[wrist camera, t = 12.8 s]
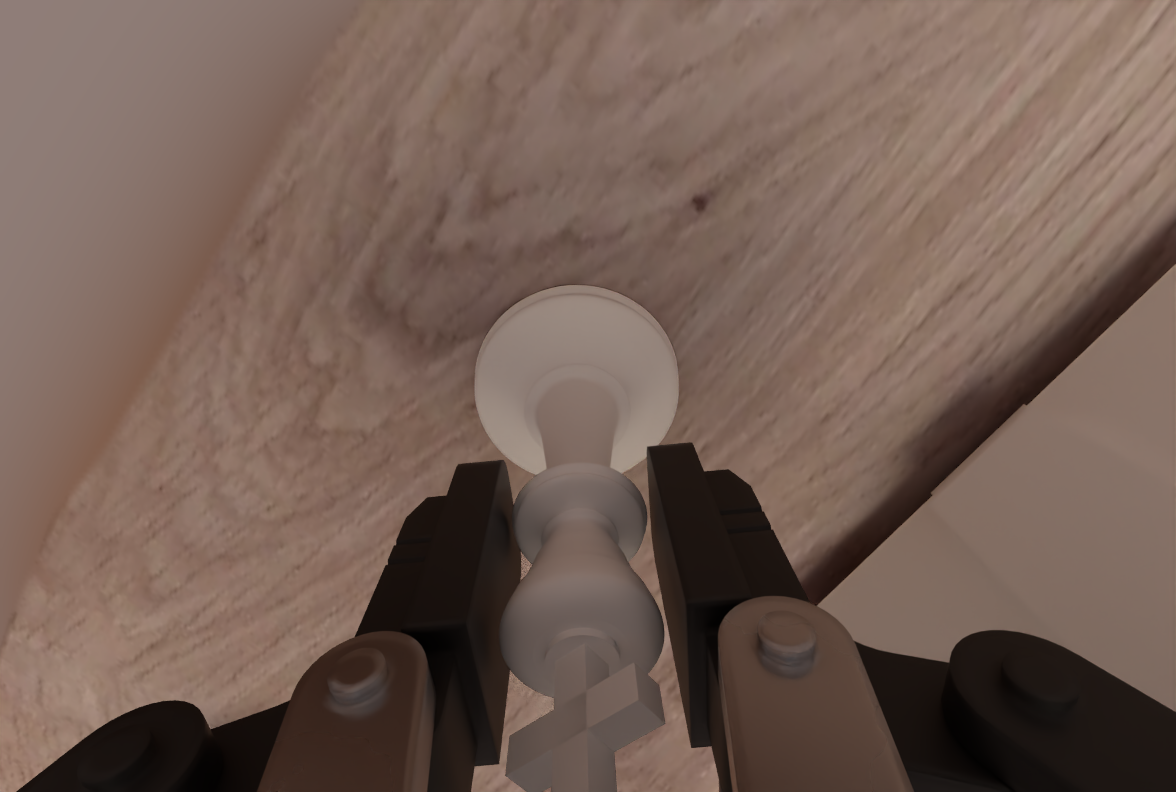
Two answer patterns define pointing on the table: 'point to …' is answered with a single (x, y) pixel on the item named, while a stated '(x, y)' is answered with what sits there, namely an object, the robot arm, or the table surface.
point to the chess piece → (579, 522)
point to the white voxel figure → (1051, 522)
